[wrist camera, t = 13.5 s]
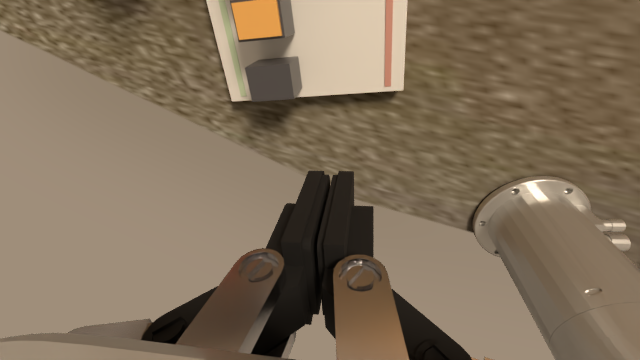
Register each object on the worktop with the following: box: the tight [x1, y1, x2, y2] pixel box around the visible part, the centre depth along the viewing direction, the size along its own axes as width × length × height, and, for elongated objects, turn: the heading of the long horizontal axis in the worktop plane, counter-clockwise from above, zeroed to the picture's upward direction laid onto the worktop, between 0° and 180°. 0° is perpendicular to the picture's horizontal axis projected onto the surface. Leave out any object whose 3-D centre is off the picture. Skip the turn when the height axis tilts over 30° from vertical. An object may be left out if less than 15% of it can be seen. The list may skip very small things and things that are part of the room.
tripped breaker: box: [230, 0, 295, 42], centre depth 25 cm, size 4×3×4 cm
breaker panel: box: [206, 0, 407, 102], centre depth 26 cm, size 18×15×6 cm
